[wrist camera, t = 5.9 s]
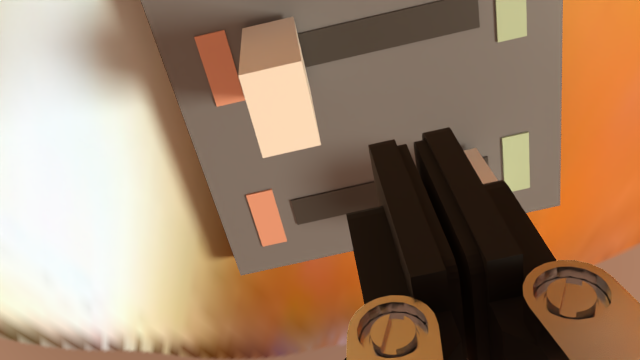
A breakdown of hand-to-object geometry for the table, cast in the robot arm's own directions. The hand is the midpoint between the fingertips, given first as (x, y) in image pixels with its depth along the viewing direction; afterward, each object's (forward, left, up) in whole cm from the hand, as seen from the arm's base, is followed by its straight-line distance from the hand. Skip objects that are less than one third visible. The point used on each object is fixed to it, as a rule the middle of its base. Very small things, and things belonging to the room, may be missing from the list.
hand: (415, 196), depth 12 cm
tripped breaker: (+1, -3, -12) cm, 13 cm away
